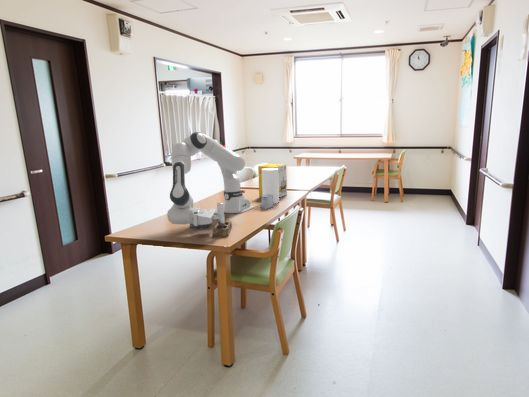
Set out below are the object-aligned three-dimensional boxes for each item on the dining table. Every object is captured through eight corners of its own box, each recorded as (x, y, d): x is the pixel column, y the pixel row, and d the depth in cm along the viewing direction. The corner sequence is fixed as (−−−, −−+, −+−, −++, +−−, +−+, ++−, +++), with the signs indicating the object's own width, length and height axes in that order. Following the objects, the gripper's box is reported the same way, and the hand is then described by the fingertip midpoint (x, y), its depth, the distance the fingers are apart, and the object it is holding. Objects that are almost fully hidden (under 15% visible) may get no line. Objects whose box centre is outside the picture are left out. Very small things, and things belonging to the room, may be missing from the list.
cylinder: (269, 199, 291) (268, 167, 286) (282, 201, 284) (281, 168, 278) (259, 202, 282) (258, 169, 277) (272, 204, 274) (271, 170, 269)
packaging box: (276, 199, 293) (276, 167, 288) (259, 197, 301) (258, 166, 296) (286, 195, 306) (286, 164, 301) (269, 193, 315) (268, 163, 310)
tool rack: (213, 236, 204) (213, 229, 204) (218, 228, 219) (217, 221, 218) (228, 236, 204) (227, 228, 203) (231, 228, 219) (231, 221, 218)
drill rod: (220, 230, 210) (218, 202, 207) (226, 230, 209) (224, 202, 206) (217, 232, 207) (215, 203, 203) (223, 232, 206) (222, 204, 202)
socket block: (199, 223, 231) (198, 218, 230) (211, 224, 227) (211, 219, 226) (190, 227, 223) (189, 222, 222) (203, 228, 219) (202, 223, 218)
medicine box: (268, 206, 270) (268, 194, 268) (273, 206, 267) (273, 194, 266) (261, 208, 264) (261, 196, 263) (266, 209, 262) (266, 196, 260)
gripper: (201, 216, 217) (225, 216, 217) (193, 226, 197) (220, 226, 197) (201, 206, 216) (225, 205, 215) (192, 215, 196) (219, 214, 195)
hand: (222, 215), depth 206 cm, fingers closed on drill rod, 3 cm apart
